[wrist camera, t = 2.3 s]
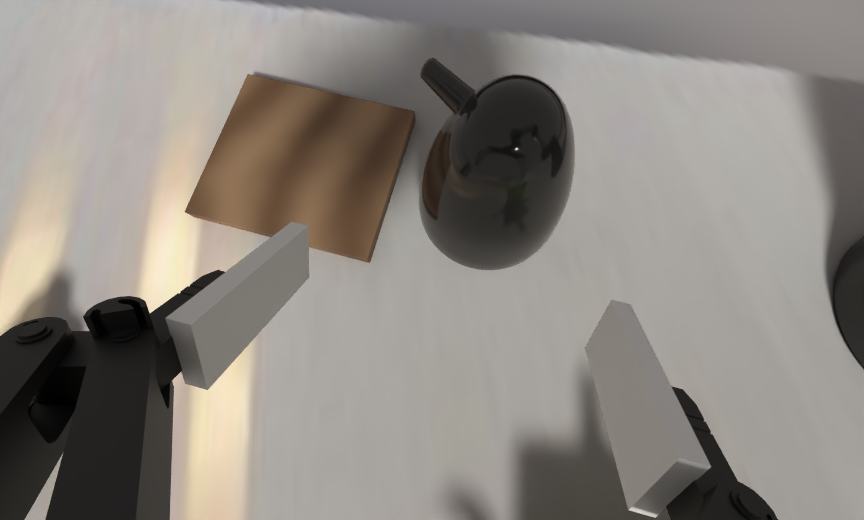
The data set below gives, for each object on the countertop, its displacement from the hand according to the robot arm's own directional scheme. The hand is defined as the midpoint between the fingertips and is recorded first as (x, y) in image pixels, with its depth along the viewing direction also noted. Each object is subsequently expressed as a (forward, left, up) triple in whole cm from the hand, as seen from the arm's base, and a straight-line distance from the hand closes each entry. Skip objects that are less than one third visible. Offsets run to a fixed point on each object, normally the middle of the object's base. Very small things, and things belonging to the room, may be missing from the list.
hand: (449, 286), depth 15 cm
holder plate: (+15, -9, -13) cm, 22 cm away
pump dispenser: (-1, -8, -13) cm, 16 cm away
